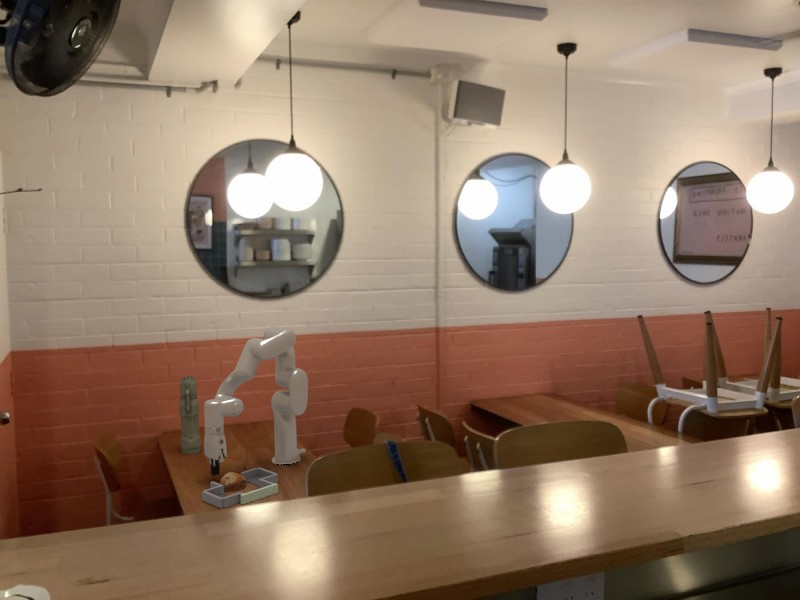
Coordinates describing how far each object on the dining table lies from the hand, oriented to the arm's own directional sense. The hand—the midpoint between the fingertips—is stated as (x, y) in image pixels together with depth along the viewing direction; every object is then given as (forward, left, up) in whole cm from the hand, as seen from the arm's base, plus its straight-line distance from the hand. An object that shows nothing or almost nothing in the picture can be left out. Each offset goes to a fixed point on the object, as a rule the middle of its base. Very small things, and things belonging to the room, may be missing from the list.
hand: (215, 474), depth 295 cm
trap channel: (-1, +18, -3) cm, 18 cm away
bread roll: (-1, +11, -3) cm, 12 cm away
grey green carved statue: (-16, -44, -3) cm, 47 cm away
